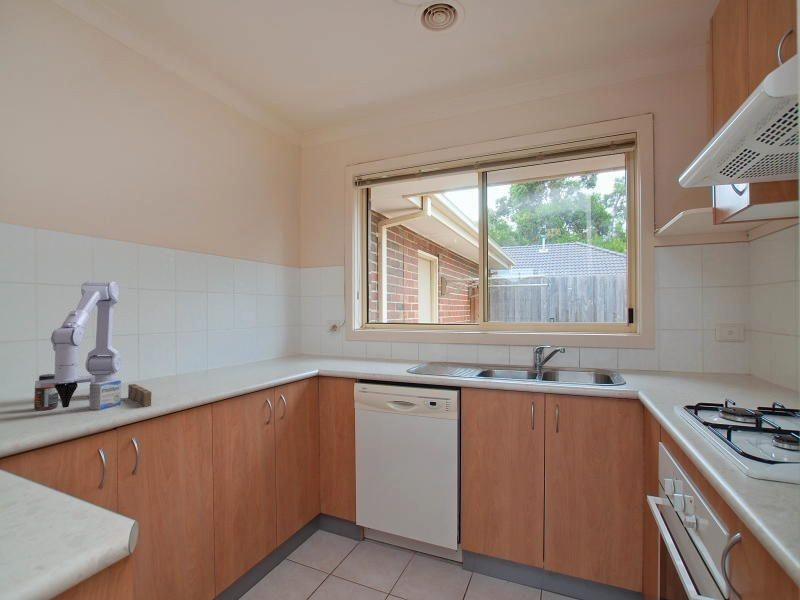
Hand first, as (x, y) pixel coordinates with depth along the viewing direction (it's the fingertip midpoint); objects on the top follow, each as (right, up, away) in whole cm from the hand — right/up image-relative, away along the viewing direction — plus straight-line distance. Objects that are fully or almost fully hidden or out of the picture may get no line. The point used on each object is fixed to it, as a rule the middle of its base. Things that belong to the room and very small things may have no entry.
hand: (65, 406), depth 127 cm
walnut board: (+14, -2, +15) cm, 21 cm away
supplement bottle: (-10, -2, +5) cm, 12 cm away
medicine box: (+7, -2, +8) cm, 11 cm away
